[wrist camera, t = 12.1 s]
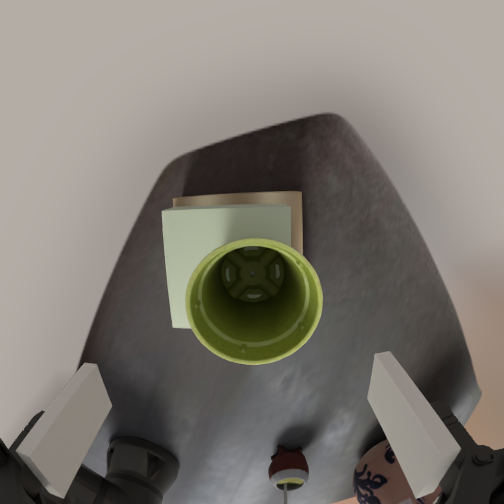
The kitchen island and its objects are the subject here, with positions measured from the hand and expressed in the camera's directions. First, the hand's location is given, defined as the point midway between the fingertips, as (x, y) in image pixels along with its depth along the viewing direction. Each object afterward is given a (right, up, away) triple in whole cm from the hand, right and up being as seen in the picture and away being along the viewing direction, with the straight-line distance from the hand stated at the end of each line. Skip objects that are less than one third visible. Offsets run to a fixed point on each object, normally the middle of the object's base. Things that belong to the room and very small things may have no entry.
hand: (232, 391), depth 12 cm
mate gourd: (+7, -32, +34) cm, 47 cm away
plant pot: (+1, +4, +16) cm, 17 cm away
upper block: (-1, +5, +21) cm, 22 cm away
